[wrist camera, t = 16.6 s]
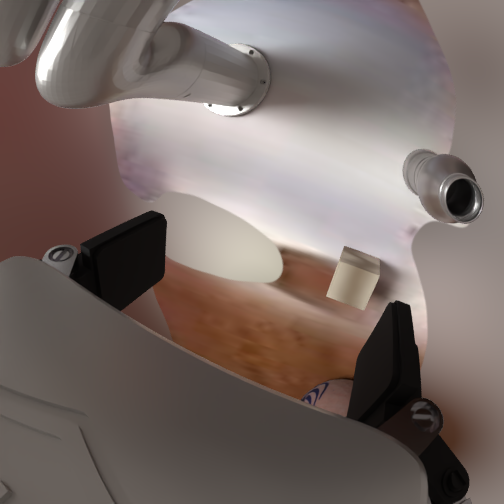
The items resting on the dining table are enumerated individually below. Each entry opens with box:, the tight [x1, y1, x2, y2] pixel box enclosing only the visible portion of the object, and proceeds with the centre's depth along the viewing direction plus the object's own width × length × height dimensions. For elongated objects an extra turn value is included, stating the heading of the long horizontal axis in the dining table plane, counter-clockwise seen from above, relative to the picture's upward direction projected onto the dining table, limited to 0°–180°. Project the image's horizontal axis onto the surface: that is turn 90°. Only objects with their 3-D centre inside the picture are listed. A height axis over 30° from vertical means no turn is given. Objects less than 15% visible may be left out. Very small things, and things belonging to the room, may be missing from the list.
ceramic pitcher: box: [300, 379, 353, 417], centre depth 43 cm, size 18×21×25 cm
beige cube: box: [326, 246, 380, 310], centre depth 40 cm, size 6×6×6 cm
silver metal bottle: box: [403, 149, 484, 224], centre depth 25 cm, size 6×7×20 cm
